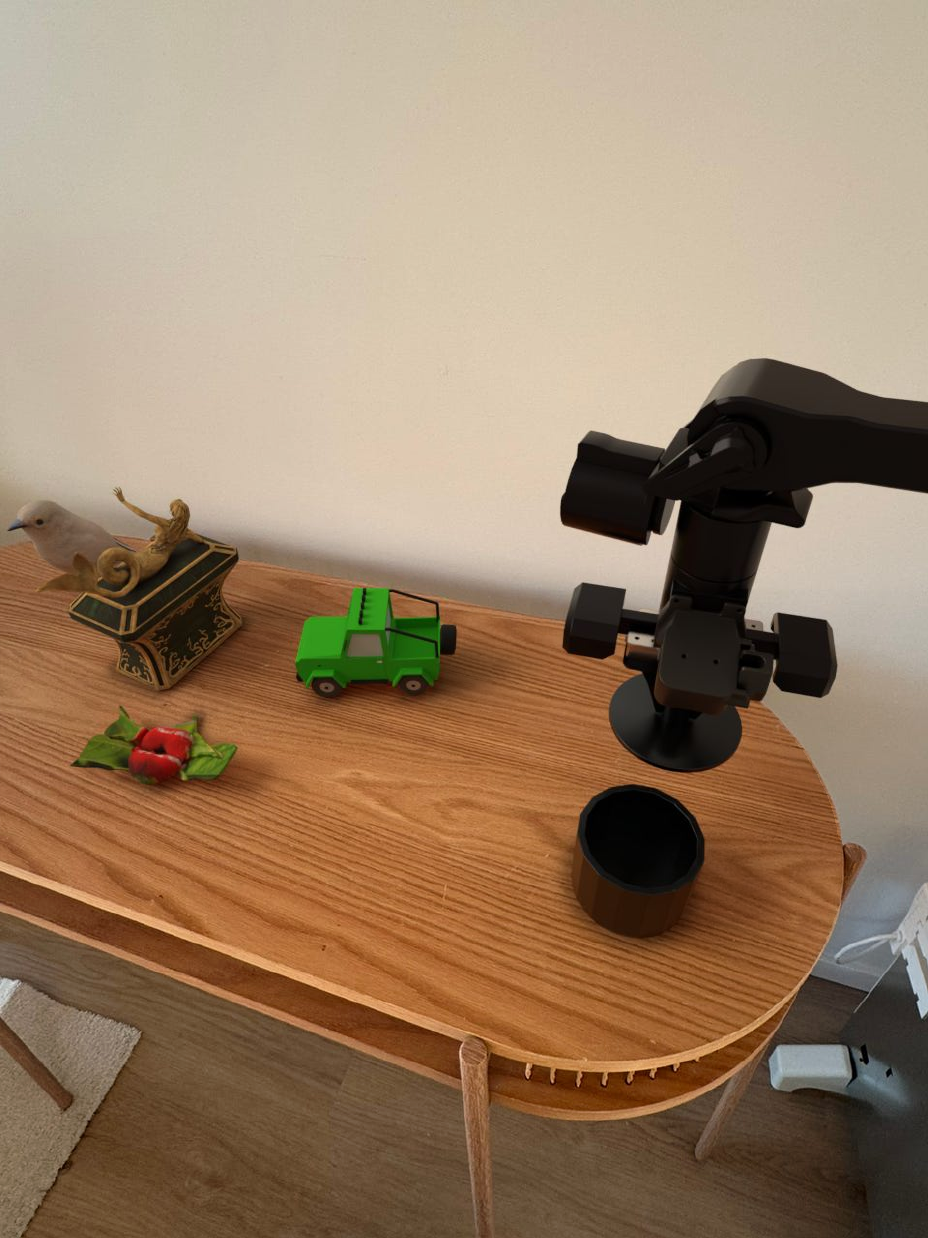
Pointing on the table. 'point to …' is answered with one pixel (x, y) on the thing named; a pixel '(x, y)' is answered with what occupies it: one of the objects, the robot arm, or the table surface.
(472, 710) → the table surface
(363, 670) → the toy car
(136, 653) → the decorative box
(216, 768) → the decorative ornament
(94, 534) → the bird
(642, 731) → the lid
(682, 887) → the pot
